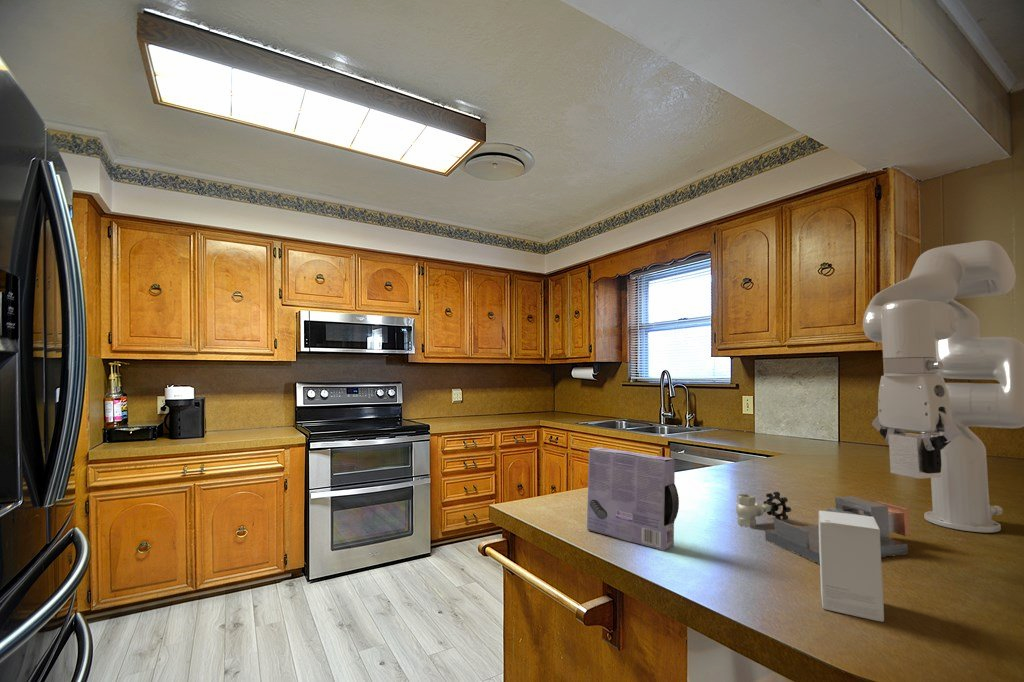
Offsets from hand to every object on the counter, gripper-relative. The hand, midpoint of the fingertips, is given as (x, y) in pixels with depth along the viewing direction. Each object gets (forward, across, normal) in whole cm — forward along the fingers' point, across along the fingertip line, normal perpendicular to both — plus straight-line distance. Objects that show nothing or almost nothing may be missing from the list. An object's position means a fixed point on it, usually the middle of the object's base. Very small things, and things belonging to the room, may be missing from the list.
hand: (915, 468), depth 87 cm
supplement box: (+17, -9, +25) cm, 32 cm away
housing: (+1, 0, 0) cm, 1 cm away
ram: (+15, +11, -1) cm, 19 cm away
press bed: (+17, +11, +7) cm, 21 cm away
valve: (+17, +27, +10) cm, 34 cm away
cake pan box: (+17, +25, +44) cm, 53 cm away
